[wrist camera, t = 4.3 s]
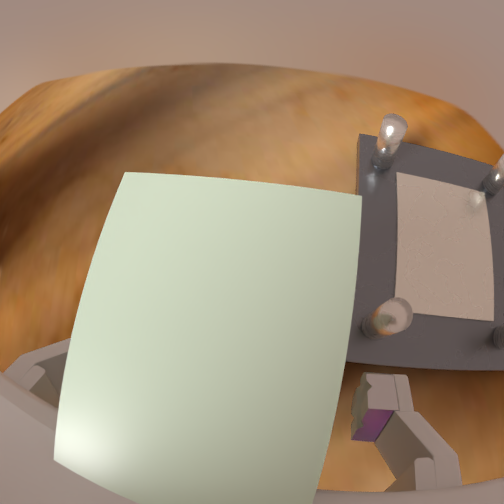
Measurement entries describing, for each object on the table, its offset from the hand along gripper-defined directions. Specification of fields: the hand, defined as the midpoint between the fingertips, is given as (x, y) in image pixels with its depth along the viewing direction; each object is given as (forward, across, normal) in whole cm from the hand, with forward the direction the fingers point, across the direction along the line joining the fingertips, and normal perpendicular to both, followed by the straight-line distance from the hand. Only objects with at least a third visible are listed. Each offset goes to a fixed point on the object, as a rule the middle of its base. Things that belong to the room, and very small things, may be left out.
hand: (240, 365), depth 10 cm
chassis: (+12, -11, 0) cm, 16 cm away
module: (+6, 0, +6) cm, 8 cm away
